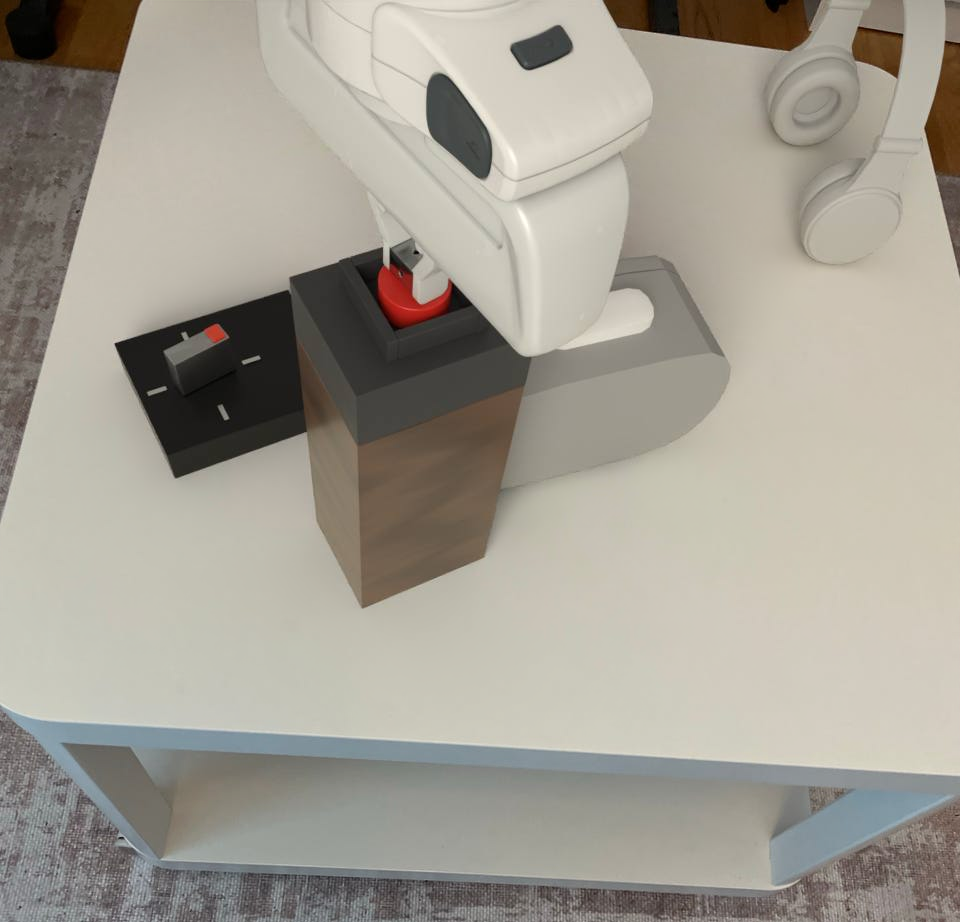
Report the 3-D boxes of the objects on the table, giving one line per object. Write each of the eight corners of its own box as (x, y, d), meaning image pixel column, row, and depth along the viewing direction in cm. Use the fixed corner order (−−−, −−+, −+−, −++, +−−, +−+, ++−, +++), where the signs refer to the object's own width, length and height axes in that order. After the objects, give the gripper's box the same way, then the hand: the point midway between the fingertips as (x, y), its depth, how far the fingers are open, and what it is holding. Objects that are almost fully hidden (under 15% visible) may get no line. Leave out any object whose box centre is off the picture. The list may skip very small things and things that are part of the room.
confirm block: (357, 446, 47) (355, 377, 42) (294, 332, 49) (286, 255, 44) (525, 384, 49) (542, 313, 44) (458, 279, 52) (467, 201, 47)
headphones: (748, 115, 90) (840, -107, 73) (828, 119, 91) (937, -98, 74) (788, 268, 83) (901, 62, 65) (874, 271, 84) (1008, 69, 66)
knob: (183, 396, 67) (173, 362, 63) (172, 382, 67) (162, 348, 64) (236, 369, 68) (229, 334, 65) (225, 356, 69) (217, 320, 65)
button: (397, 340, 44) (397, 319, 43) (365, 288, 46) (365, 265, 44) (462, 318, 45) (464, 296, 44) (429, 267, 46) (431, 244, 45)
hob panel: (175, 479, 67) (166, 454, 65) (123, 369, 71) (113, 341, 68) (347, 417, 71) (346, 391, 68) (291, 316, 75) (288, 287, 72)
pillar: (362, 609, 65) (357, 446, 47) (316, 520, 67) (294, 332, 49) (484, 557, 68) (525, 384, 49) (436, 474, 70) (458, 279, 52)
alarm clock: (647, 355, 77) (699, 227, 65) (695, 445, 74) (759, 329, 62) (417, 408, 72) (426, 282, 60) (458, 507, 69) (476, 395, 57)
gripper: (191, -157, 33) (242, 171, 46) (545, 198, 28) (491, 456, 41) (336, -199, 35) (346, 126, 48) (690, 126, 30) (596, 393, 43)
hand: (415, 280), depth 44 cm, fingers closed, pressing on button
